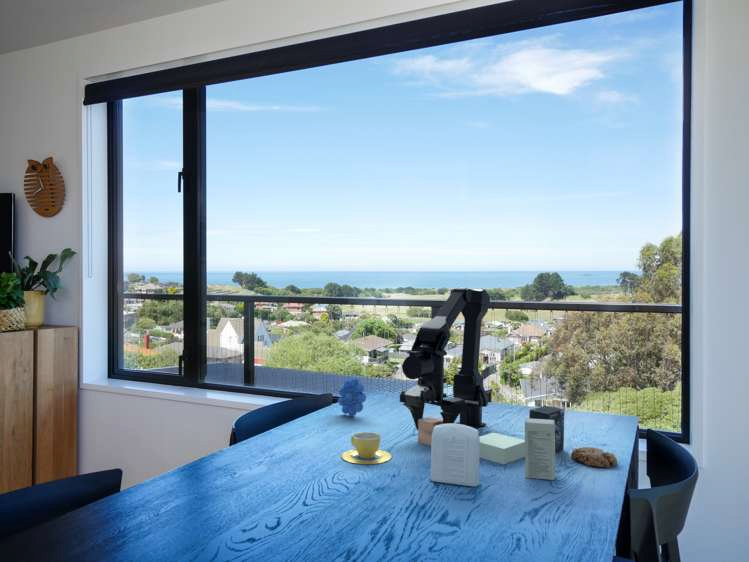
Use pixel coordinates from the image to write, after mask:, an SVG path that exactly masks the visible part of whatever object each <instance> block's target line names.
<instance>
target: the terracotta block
mask: <svg viewBox="0 0 749 562" xmlns="http://www.w3.org/2000/svg"><path fill="white" fill-rule="evenodd" d="M440 424H443V418H439V417H435V416H427V417H423V419H418V430H417V443H419V444H423V445H426V446H430V447H431V445H432V432H433V429H434V427H435V426H436V425H440Z"/></svg>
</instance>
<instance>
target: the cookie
mask: <svg viewBox="0 0 749 562" xmlns="http://www.w3.org/2000/svg"><path fill="white" fill-rule="evenodd" d="M570 457H571V459H573V461H576V462H581V463H583V464H584V465H586V466H589V467H590V466H591V467H592V466H593V467H598V468H606V469H607V468H608V469H611V468H614V467H616V466H617V465H618V459H617V457H616V456H615V454H614V453H613V452H611V453H610V452H606V451H604V450H603V449H601V448H597V447H593V446H592V447H590V446H583V447H578V448H575V449H573V451H572V452H571V454H570ZM613 466H614V467H613Z"/></svg>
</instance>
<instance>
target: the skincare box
mask: <svg viewBox="0 0 749 562" xmlns="http://www.w3.org/2000/svg"><path fill="white" fill-rule="evenodd" d="M524 440H525V457H524V464H525V466H524V468H525V469H524V470H525V472H524V473H525V476H524V477H525V478H529V479H539V480H549V481H550V480H551V481H554V480H555V479H556V453H555V421H554V420H547V419H531V418H528V417H527V418H526V419H525V421H524Z"/></svg>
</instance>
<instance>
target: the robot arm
mask: <svg viewBox="0 0 749 562" xmlns="http://www.w3.org/2000/svg"><path fill="white" fill-rule="evenodd" d="M449 293H450V295H449V296H448V297H447V299H446V300H445V302H444V303H443V304H442V306H441V307H440V309H439V310H438V312H437V314H436V315H435V316H434V317H433V318H431V319H430V320H428V321H426V322H424V324H422V326H421V327H420V328H419V330H418V332H417V334H416V337H415V339H414V342H413V343H412V347H411V349H410V351H409V352H408V356H407V357H405V359H404V360H403V363H402V365H401V369H402V373H403V375H404V376H405V377H406V378H407V379H409V380H417V383H416V385H415V386H412V387H410V388H409V389H408V390H407V389H406V390H402V391H401V392H400V394H399V403H402V405H403V406H405V408H407V409H408V410H409V411H410V413H411V414H410V415H411V417H412V419H413V422H414V425H415V429H416V431H418V419H423V418H424V412H425V405H426V404H429V405H432V406H437V407H440V410H441V411H440V412H439V414H440V415H441V417H442V419H443V424H449V423H454V424H462V425H466V426H469V427H472V428H474V429H478V428H481V427H484V426H487V423H486V422H483V421H482V420H483V407H484V408H485V407H487V406H488V404H489V395H488V393H487V392H486V389H485V388H484V379H483V377H482V375H481V373H480V371H479V361H480V348H481V332H482V321H483V319H484V317H485V316H486V315H487V313H488V311H489V306H490V303H491V295H490V293H488V292H487V290H486V289H481V288H480V289H476V288H475V289H473V288H471V289H470V288H468V287H454V288H451V290H450V292H449ZM460 314H462V316H463V319H464V321H463V322H464V325H463V336H462V337H463V338H462V339H463V340H462V352H461V353H462V354H461V367H460V369H459V371H458V372H457V373H455V374H454V376H453V385H452V394H453V395H452V396H453V397H451V398H447V393H444V383H447V381H448V380H447V377H444V375H445V373H444V364H445V361H444V359H445V356H447V355H448V352H447V351H446V350H445V348H446V347H447V345H448V343H449V342H450V338H451V337H452V336H451V331H450V330H451V328H452V327H453V324H455V321H456V320H457V318H458V317H459V315H460ZM458 417H459V421H457V422H456V420H457V419H458Z"/></svg>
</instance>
